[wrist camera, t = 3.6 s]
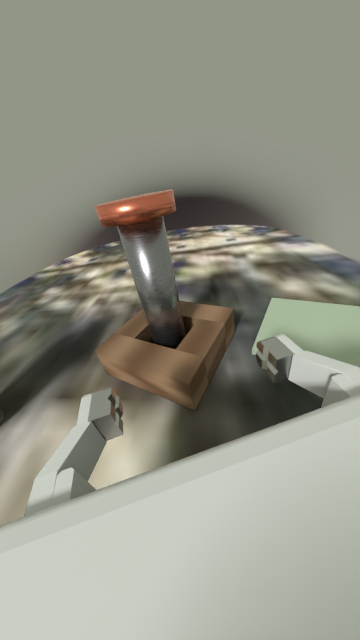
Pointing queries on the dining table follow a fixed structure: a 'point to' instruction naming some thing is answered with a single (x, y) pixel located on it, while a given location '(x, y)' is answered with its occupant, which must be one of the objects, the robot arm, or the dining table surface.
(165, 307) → the peg
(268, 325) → the mat
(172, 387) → the collar
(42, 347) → the dining table surface
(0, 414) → the cup with straw
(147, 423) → the dining table surface
